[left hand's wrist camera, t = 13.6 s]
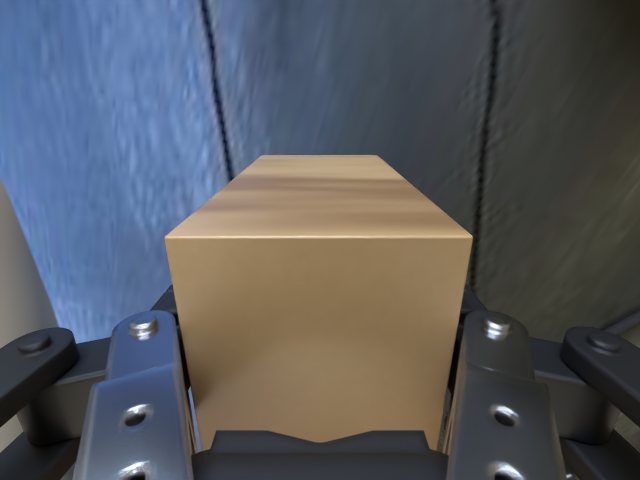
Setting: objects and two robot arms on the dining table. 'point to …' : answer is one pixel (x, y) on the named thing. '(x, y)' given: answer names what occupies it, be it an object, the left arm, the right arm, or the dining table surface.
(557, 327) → the dining table surface
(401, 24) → the dining table surface
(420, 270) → the box
